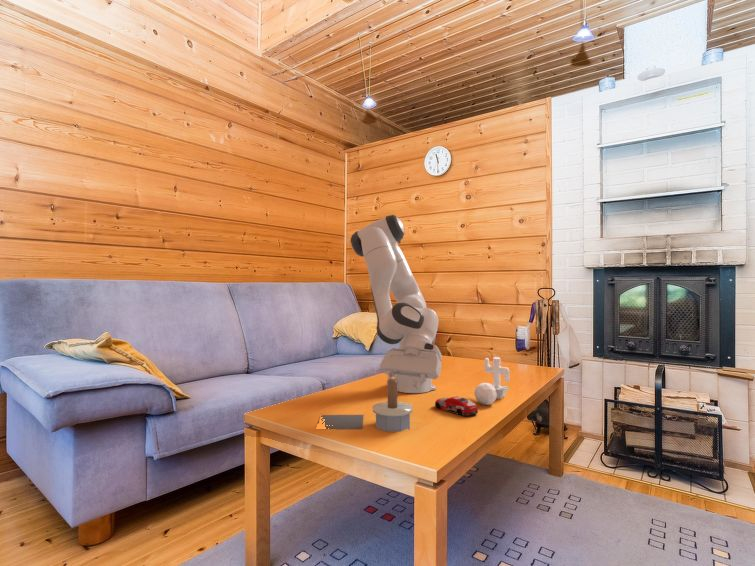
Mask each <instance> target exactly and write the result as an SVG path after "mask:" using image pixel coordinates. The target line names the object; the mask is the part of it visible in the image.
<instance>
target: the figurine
mask: <svg viewBox="0 0 755 566" xmlns="http://www.w3.org/2000/svg"><path fill="white" fill-rule="evenodd" d="M501 361H502V360H501V358H500V357H499V356H495V357H492V364H493V365H490V359H489V358H488V357H486V358H484V365H483V366H484V372H485V373H487V374H493V376H492V379H493V382H492V383H490V384H491V385H492V386H493V387H494V388H495V390H496V393H497V397H496V399H498V400H500V399H502V398H504V397H505V395H506V393H507V392H508V389H509V388H510V387H509V386H508V385H506V386H505V385H501V375H504V382H505V383H508V382H510V369H509V367H505V366H501Z"/></svg>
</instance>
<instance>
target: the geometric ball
mask: <svg viewBox="0 0 755 566" xmlns="http://www.w3.org/2000/svg"><path fill="white" fill-rule="evenodd" d="M491 384H492V383H489V382H481V383H480V384H478V385H477V386H476V387H475V389H474V393H473V394H474V397H475V399H476V402H478V403H479V404H480V405H483V406H487V405H488V406H490V405H491V404H493V403H494V402H495V401H496V400H497V398H496V397H497V393H496V390H495V388H494V387H493V386H492V385H491Z"/></svg>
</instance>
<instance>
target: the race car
mask: <svg viewBox="0 0 755 566" xmlns="http://www.w3.org/2000/svg"><path fill="white" fill-rule="evenodd" d="M434 406H435V409H437V410H443V411H446V412H450V413H451V414H452V413H453V414H455V415H457V416H459V417H460V416H461V417H462V416H472V415H476V414H478V413H479V412H478V411H479V410H478V405H477V404H476V403H474V402H473V401H471V400H470V399H467V398H466V397H462V396H458V395H456V396H451V397H441V398H438V399H436V400H435V402H434Z"/></svg>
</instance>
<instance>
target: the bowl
mask: <svg viewBox="0 0 755 566" xmlns="http://www.w3.org/2000/svg"><path fill="white" fill-rule="evenodd" d="M410 415H411V413H410V414H408V415H404V416H382V415H378V414H376V413H375V428H376V429H377V430H381V431H383V432H403V431H405V430H410V429H411V427H410V426H411V423H410V422H411V421H410V420H411V418H410Z"/></svg>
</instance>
